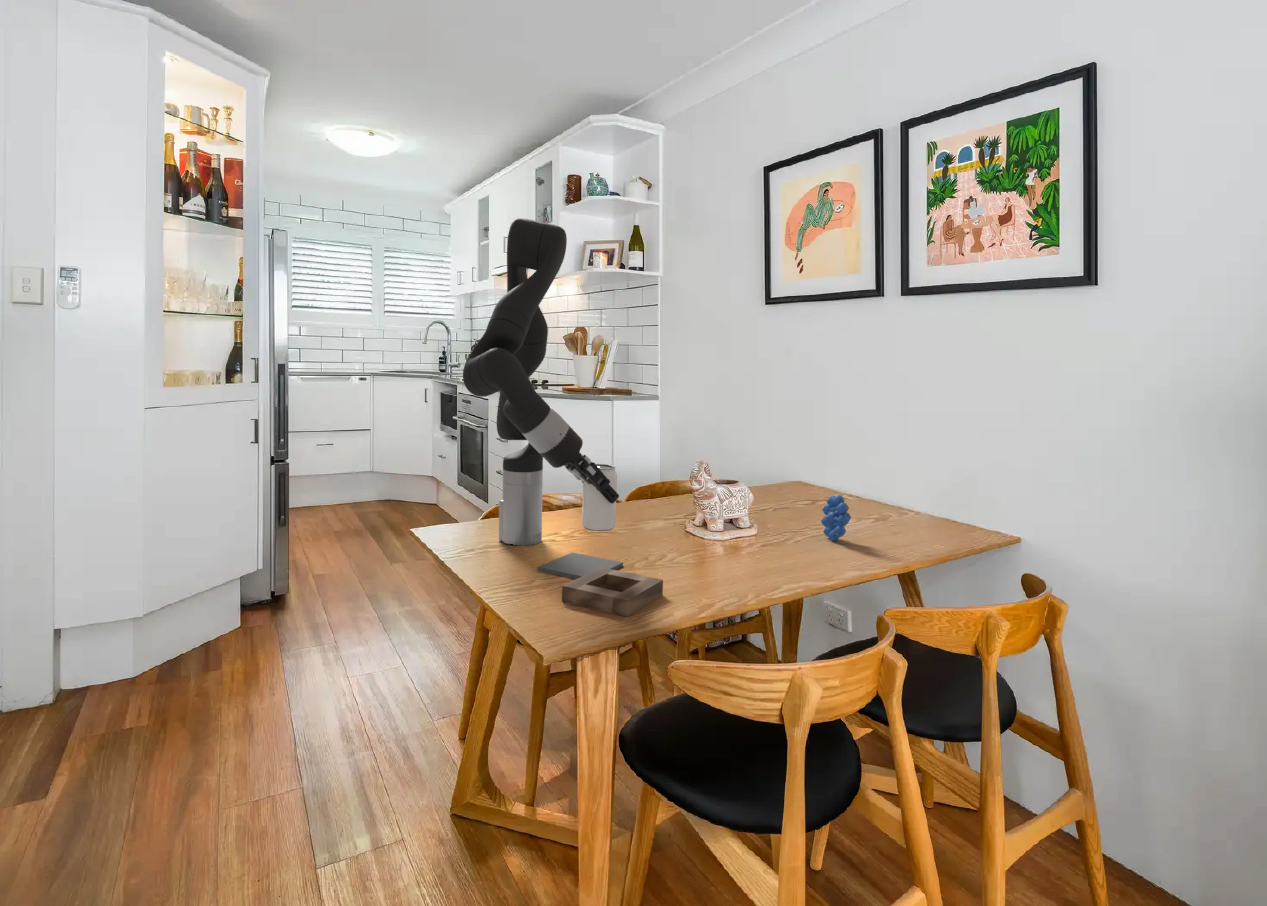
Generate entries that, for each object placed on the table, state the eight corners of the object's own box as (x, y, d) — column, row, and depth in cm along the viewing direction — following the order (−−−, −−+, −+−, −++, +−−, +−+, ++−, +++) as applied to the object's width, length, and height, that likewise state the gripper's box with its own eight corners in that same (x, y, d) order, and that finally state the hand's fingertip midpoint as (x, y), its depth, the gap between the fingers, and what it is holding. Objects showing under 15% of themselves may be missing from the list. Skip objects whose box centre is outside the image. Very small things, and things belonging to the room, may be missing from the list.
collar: (561, 601, 131) (562, 585, 131) (601, 581, 143) (601, 567, 143) (627, 616, 125) (627, 600, 125) (662, 594, 137) (663, 579, 136)
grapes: (860, 547, 176) (864, 498, 175) (834, 547, 175) (838, 498, 173) (839, 534, 188) (842, 489, 186) (814, 535, 186) (817, 489, 185)
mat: (536, 570, 149) (536, 566, 149) (571, 555, 160) (572, 552, 160) (590, 582, 143) (590, 578, 143) (622, 566, 154) (623, 562, 154)
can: (595, 521, 145) (597, 462, 144) (621, 526, 142) (624, 466, 140) (575, 527, 140) (577, 466, 138) (601, 533, 137) (604, 471, 135)
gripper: (580, 427, 128) (638, 489, 135) (552, 417, 140) (606, 475, 148) (551, 458, 126) (611, 519, 133) (525, 445, 139) (581, 502, 146)
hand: (608, 496), depth 140 cm, fingers closed on can, 5 cm apart
